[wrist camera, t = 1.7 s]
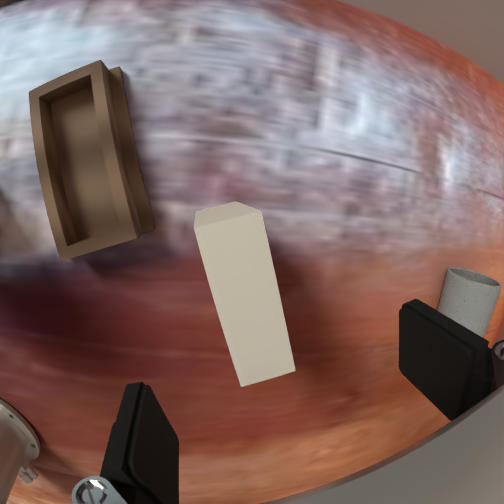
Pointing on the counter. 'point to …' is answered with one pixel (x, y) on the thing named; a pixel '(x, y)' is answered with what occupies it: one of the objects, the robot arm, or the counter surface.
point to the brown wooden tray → (88, 161)
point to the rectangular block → (245, 290)
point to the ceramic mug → (469, 298)
